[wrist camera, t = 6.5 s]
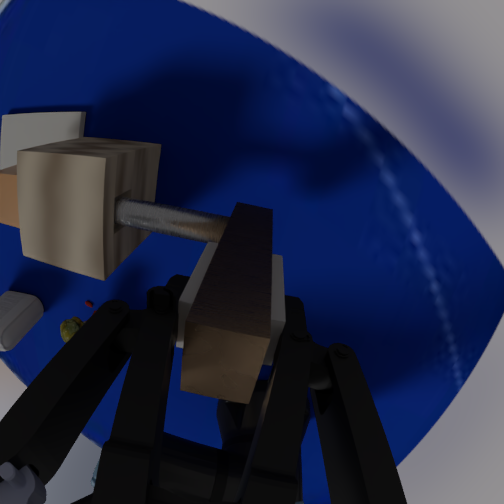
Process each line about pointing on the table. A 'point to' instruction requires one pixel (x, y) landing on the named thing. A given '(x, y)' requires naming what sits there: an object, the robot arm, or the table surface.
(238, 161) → the table surface
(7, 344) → the photo printer
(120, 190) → the bearing block
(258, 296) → the handled brown block
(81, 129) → the mat
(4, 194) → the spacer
